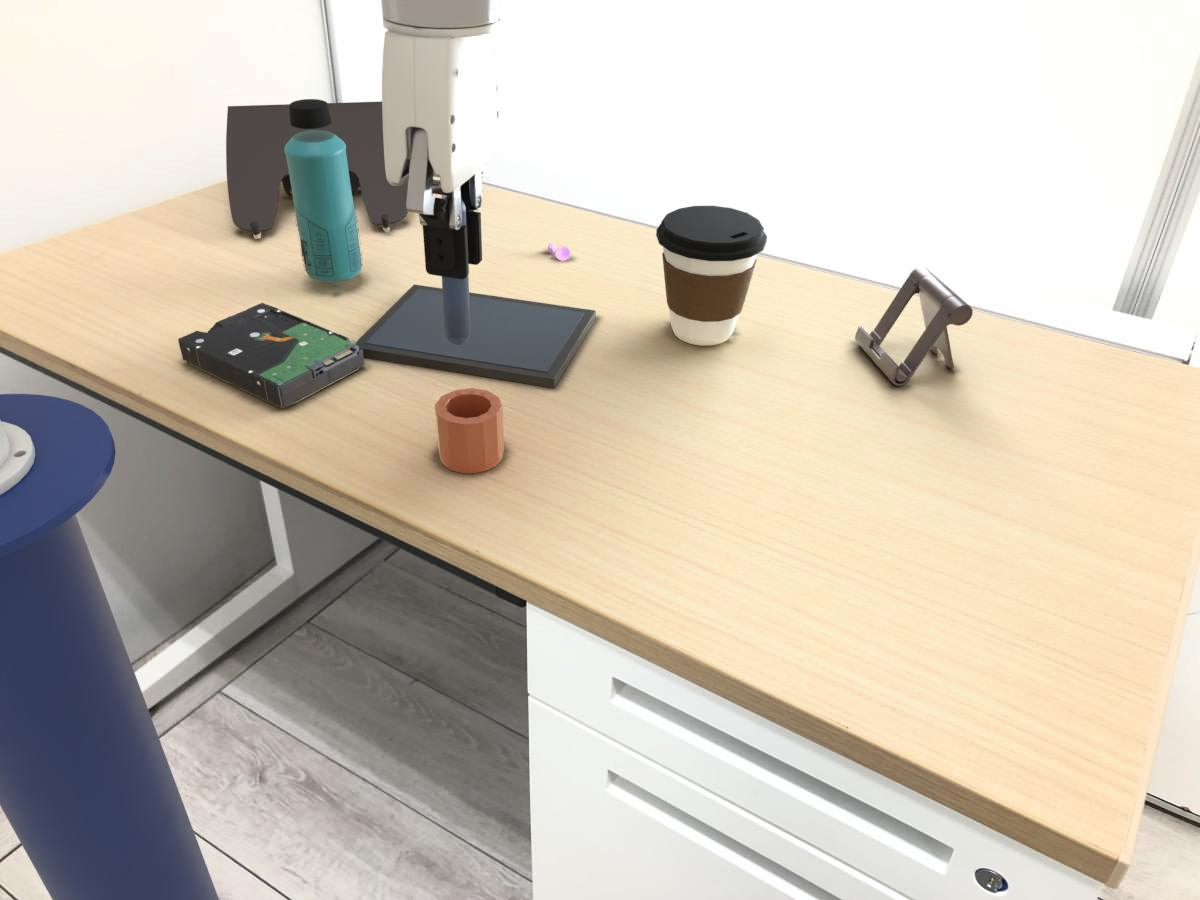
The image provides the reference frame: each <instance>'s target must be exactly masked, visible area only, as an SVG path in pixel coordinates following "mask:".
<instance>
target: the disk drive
mask: <svg viewBox="0 0 1200 900" xmlns="http://www.w3.org/2000/svg"><path fill="white" fill-rule="evenodd" d="M177 339H178V340H177V341H178V345H179V349H180V354H181V357H182V360H183V361H186V362H187V363H188V365H191V366H193V367H195V368H196V369H199V370H201V371H203V372H206V373H208V374H209V375H211V376H213V377H216V378H218V379H220V380H222V381H223V382H226V383H228V384H230V385H233V386H234V387H237V388H239V389H240V390H242V391H245V392H246V393H249V394H250V395H253V396H255V397H257V398H259V399H261V400H262V401H265V402H267V403H269V404H271V405H274V406H276V407H280V408H281V409H285V408H286V407H288V406H289V407H290V406H291V405H293V404H296V403H299V402H300V401H302V400H304V399H306V398H307V397H310V396H311V395H314V394H315V393H317V392H319V391H320V390H322V389H325V388H326V387H328V386H331V385H332V384H334V383H336V382H337V381H339V380H342V379H343V378H345V377H347V376H348V375H350V374H353V373H354V372H356V371H359V369H360V368H361V367H363V366H365V357H364V356H363V349H361V348H359V347H358V345H356V341H353V340H352V339H349V337H347V336H344V335H342V334H340V333H337V332H333V331H332V330H330V329H327V328H325V327H322V326H320V325H318V324H315V323H314V322H310V321H308V320H306V319H303V318H301V317H298V316H296V315H294V314H292V313H290V312H287V311H284V310H282V309H280V308H277V307H275V306H273V305H269V304H267V303H264V302H261V303H258V304H255V305H253V306H251V307H249V308H246V309H245V310H243V311H240V312H238V313H236V314H233V315H231V316H228V317H226V318H223V319H221V320H219V321H216V322H215V323H214V324H213V326H212V327H211V328H210V329H209V330H208V331H207V332H206V331H205V332H204V331H200V330H195V331H193V332H191V333H188V334H186V335H183V336H182V337H179V338H177Z"/></svg>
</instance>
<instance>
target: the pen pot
mask: <svg viewBox="0 0 1200 900" xmlns="http://www.w3.org/2000/svg"><path fill="white" fill-rule="evenodd" d="M501 401H502V400H501V399H500V397H499V396H498V395H496V394H494V393H493V392H491V391H489V390H487V389H481V388H475V387H471V388H470V387H469V388H461V389H455V390H452V391H450V392H448V393H445V394H444V395H441V396H440V398H438V400H436V403H434V413H435V425H436V436H437V437H436V438H437V447H438V449H437V450H438V454H439V461H440V462H441V463H442V465H443V466H444V467H445V468H446V469H448V470H451V471H452V472H456V473H460V474H477V473H478V474H479V473H484V472H486V471H490V470H491V469H493V468H495V467H496V466H497V465H499V464H500V462H502V459H503V457H504V452H505V440H504V439H505V436H504V414H503V405H502V402H501Z"/></svg>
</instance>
